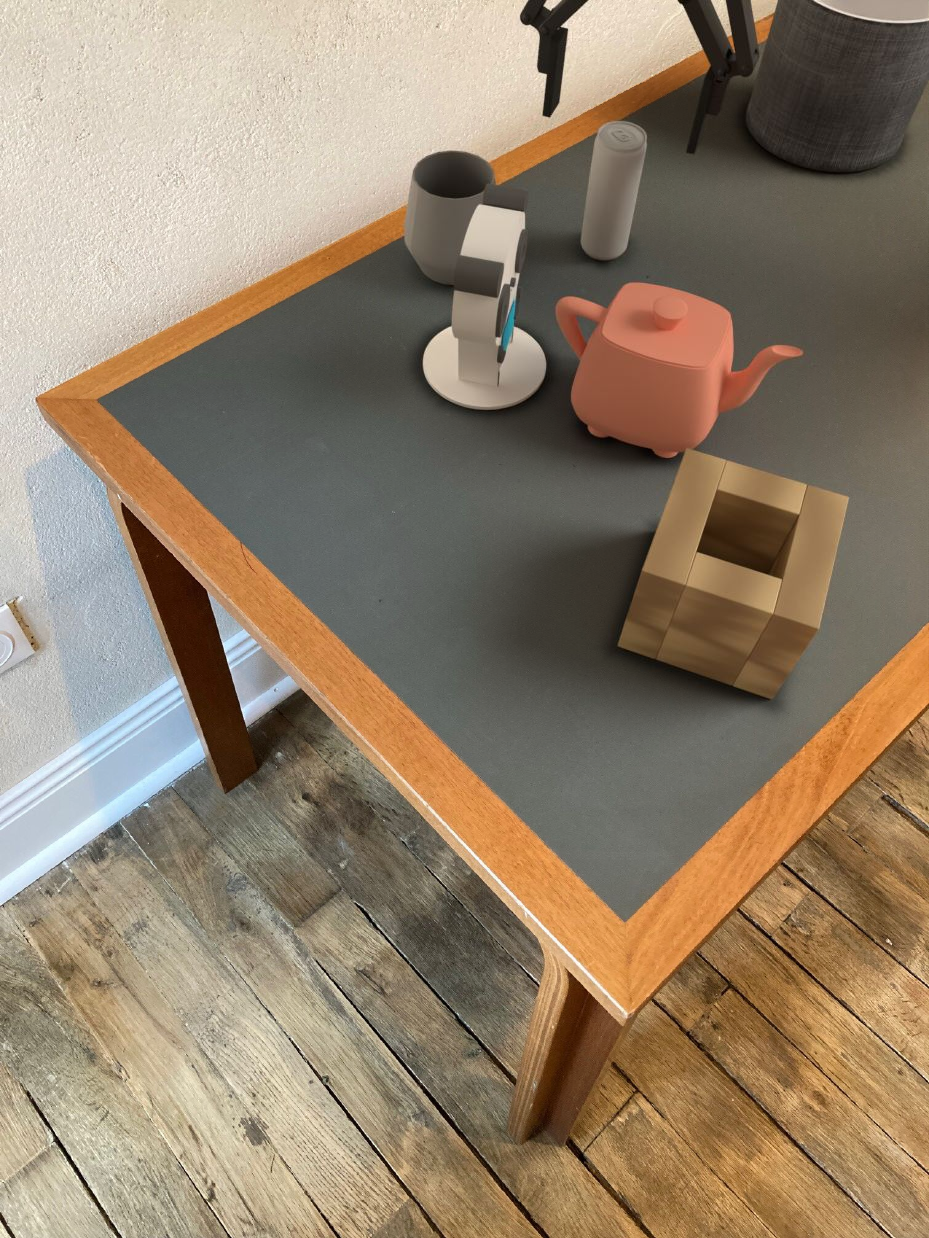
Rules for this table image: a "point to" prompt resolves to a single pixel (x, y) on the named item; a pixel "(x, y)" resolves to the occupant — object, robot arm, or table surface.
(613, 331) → the teapot
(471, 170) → the cup
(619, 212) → the beverage can
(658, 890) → the table surface
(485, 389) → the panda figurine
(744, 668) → the wooden box
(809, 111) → the planter
